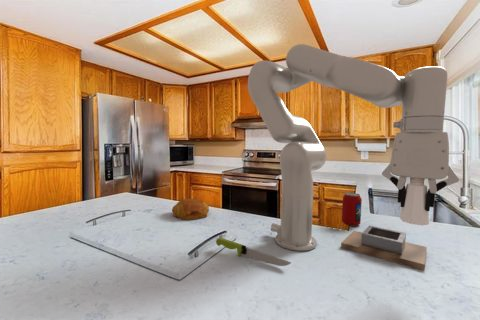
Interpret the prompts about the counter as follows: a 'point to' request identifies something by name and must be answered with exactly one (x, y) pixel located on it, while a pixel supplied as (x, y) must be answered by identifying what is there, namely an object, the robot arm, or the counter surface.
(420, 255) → the walnut board
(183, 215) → the round bread loaf
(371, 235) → the metal socket
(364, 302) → the counter surface
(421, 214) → the salt shaker
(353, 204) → the beverage can
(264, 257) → the kitchen knife
